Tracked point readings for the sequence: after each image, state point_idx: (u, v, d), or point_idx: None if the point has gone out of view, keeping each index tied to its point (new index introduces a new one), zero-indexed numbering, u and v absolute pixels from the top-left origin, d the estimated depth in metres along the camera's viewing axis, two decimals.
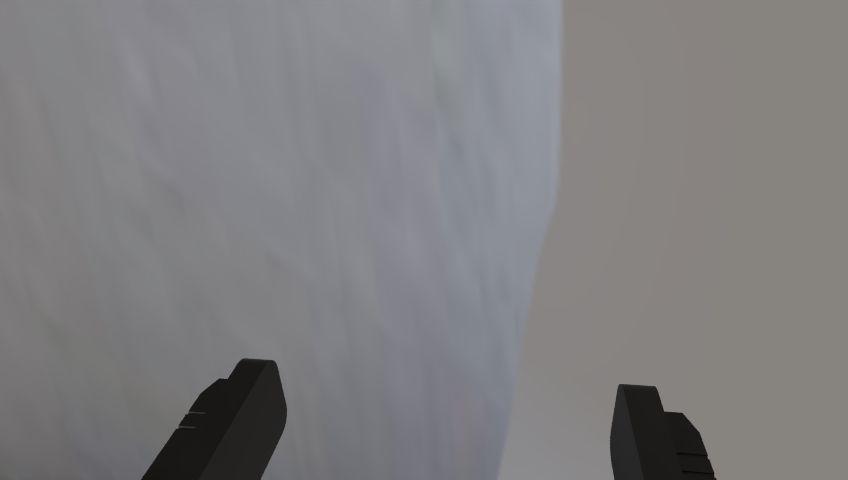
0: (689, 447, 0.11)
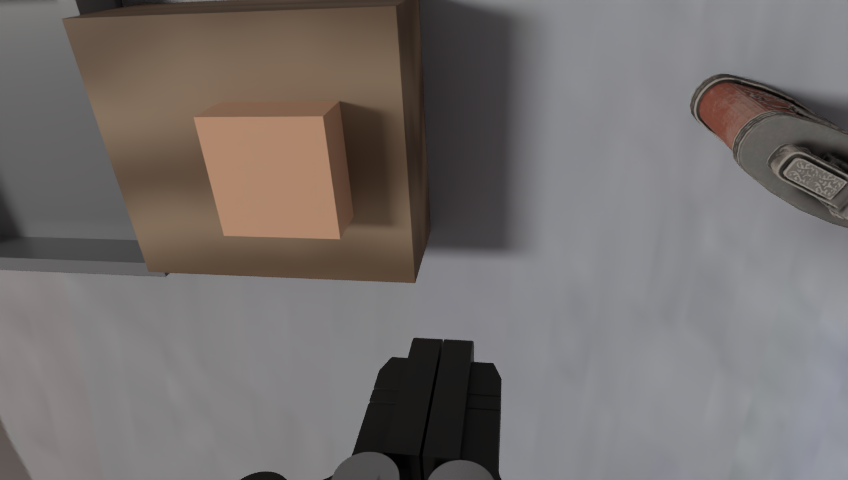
0: (488, 390, 0.12)
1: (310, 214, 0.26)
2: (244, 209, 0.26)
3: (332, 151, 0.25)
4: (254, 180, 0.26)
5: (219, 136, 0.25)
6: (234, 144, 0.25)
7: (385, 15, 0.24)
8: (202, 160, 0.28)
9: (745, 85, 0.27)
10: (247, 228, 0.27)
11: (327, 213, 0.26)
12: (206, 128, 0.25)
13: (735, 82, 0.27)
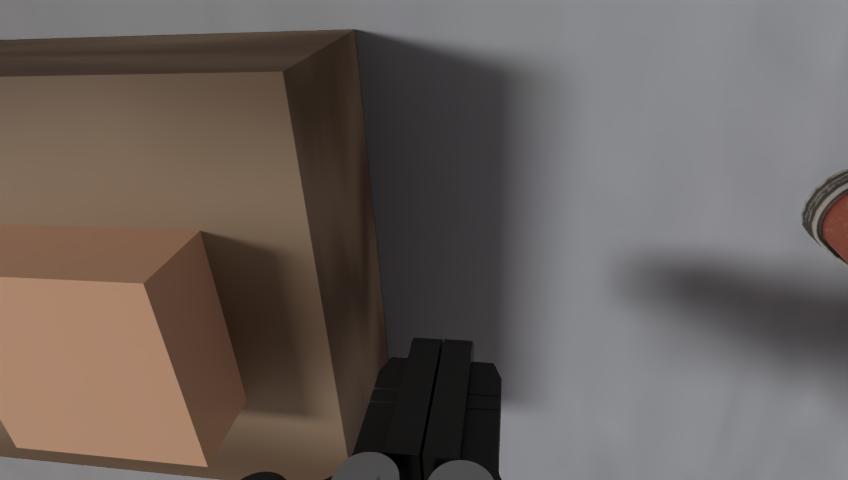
0: (488, 390, 0.12)
1: (150, 428, 0.15)
2: (39, 413, 0.15)
3: (179, 330, 0.14)
4: (45, 374, 0.14)
5: None
6: None
7: (264, 88, 0.12)
8: None
9: None
10: (52, 440, 0.16)
11: (179, 430, 0.14)
12: None
13: None
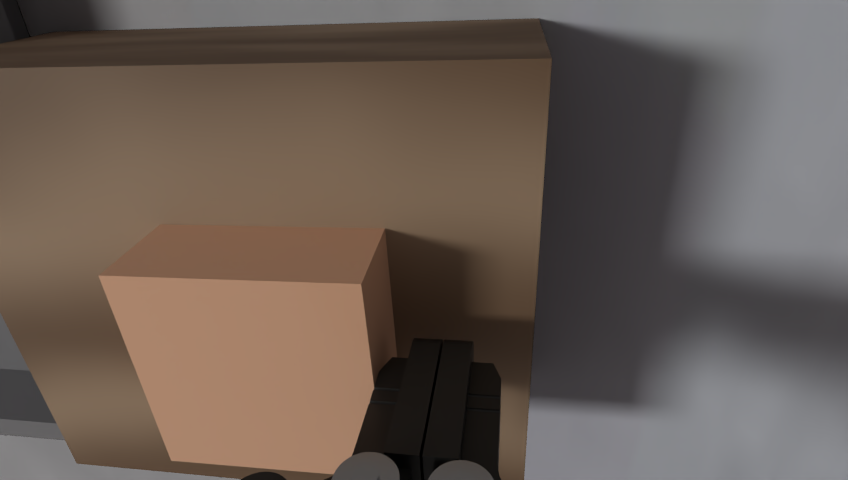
0: (488, 390, 0.12)
1: (330, 439, 0.14)
2: (206, 424, 0.14)
3: (375, 333, 0.13)
4: (224, 382, 0.13)
5: (152, 310, 0.13)
6: (182, 325, 0.13)
7: (526, 77, 0.11)
8: None
9: None
10: (213, 452, 0.15)
11: None
12: (125, 295, 0.12)
13: None
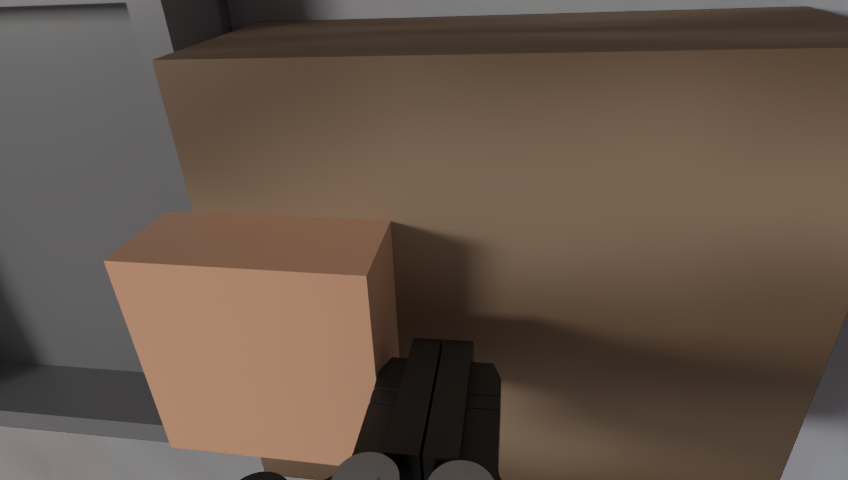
0: (487, 390, 0.12)
1: (330, 429, 0.14)
2: (207, 412, 0.14)
3: (378, 326, 0.13)
4: (226, 370, 0.13)
5: (156, 296, 0.13)
6: (185, 312, 0.13)
7: None
8: (401, 321, 0.15)
9: None
10: (213, 440, 0.15)
11: None
12: (130, 281, 0.12)
13: None
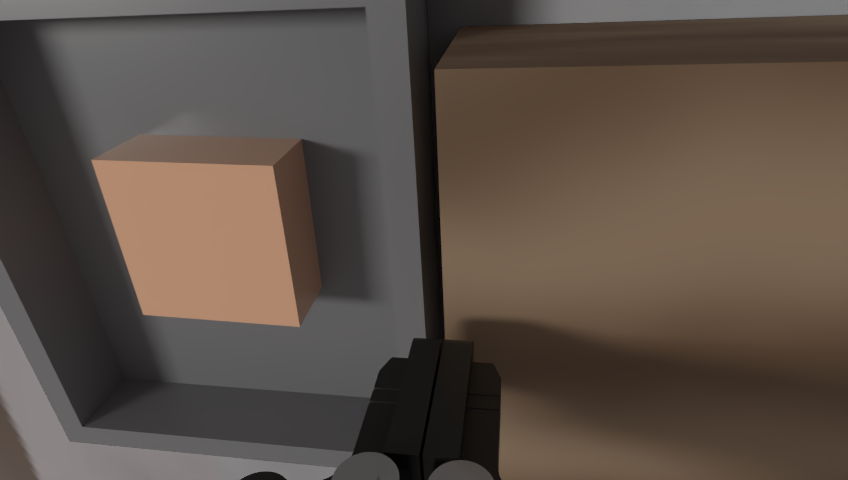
0: (488, 390, 0.12)
1: None
2: None
3: None
4: None
5: None
6: None
7: None
8: (651, 347, 0.14)
9: None
10: None
11: None
12: None
13: None
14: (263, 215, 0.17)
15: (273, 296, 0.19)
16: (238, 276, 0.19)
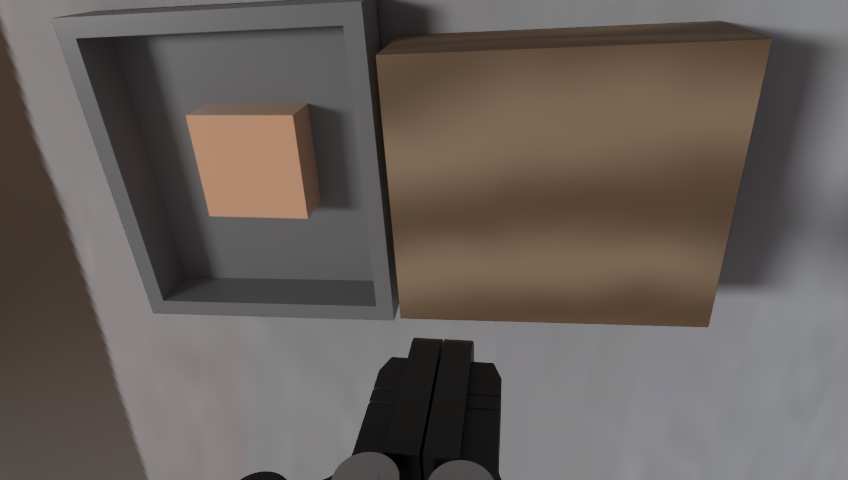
0: (488, 390, 0.12)
1: None
2: None
3: None
4: None
5: None
6: None
7: (757, 49, 0.22)
8: (497, 202, 0.26)
9: None
10: None
11: None
12: None
13: None
14: (286, 146, 0.30)
15: (292, 198, 0.31)
16: (270, 186, 0.31)
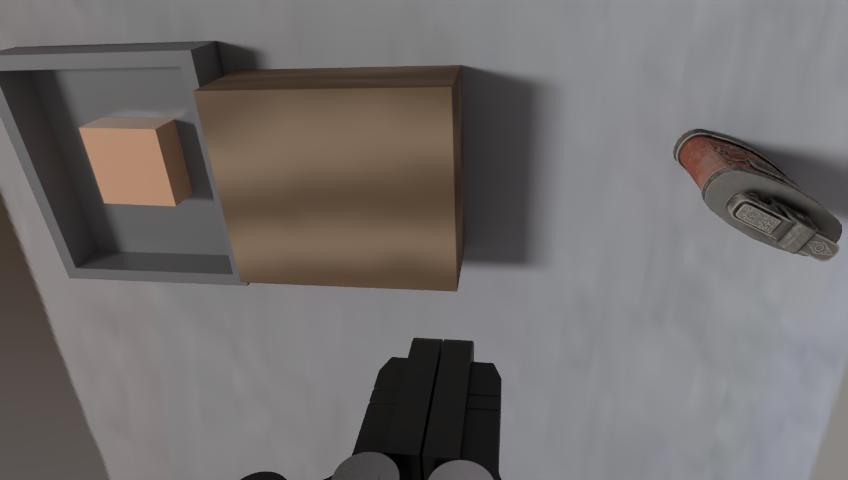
0: (488, 390, 0.12)
1: None
2: None
3: None
4: None
5: None
6: None
7: (443, 93, 0.32)
8: (293, 196, 0.36)
9: (715, 139, 0.36)
10: None
11: None
12: None
13: (707, 136, 0.36)
14: (153, 151, 0.40)
15: (162, 190, 0.41)
16: (145, 181, 0.41)
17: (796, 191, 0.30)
